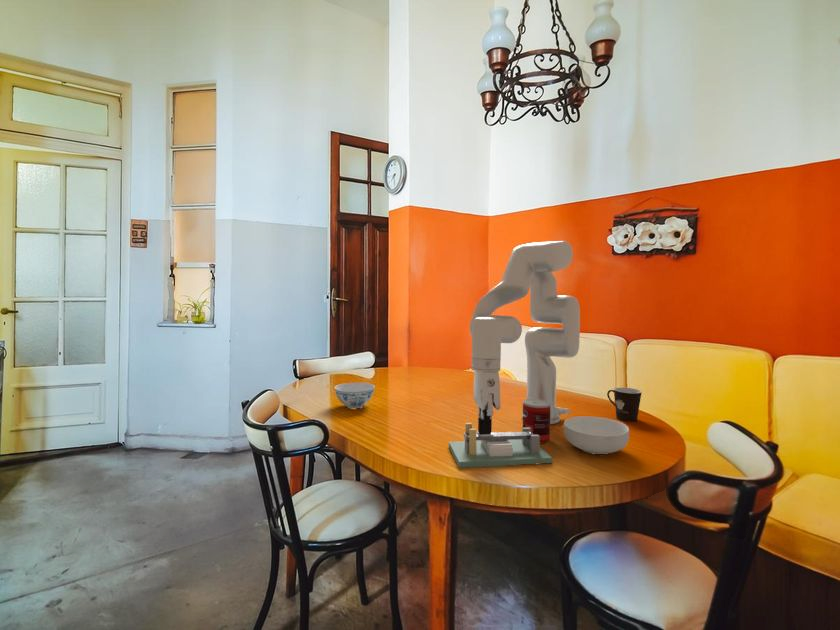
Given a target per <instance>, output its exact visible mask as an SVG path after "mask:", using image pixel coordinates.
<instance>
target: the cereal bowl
mask: <svg viewBox="0 0 840 630" xmlns="http://www.w3.org/2000/svg"><path fill="white" fill-rule="evenodd" d="M563 431H564V436H565V437H566V439H567V441H568V442H569V443H570V444H571V445H573V446H574V447H576V448H578V449H579V450H581V449H582V450H581V451H583V450H584V451H586V452H585V453H587V452H589V453H588V454H590V453H594V454H593V455H595V454H607V455H609V454H608V453H610V454H612V453H615V452H618V451H621V450H623V448H625V447H626V446H627V445H628V443H629V438H630V428H629V426H628V425H627V424H625V423H623V422H621V421H618V420H615V419H612V418H607V417H600V416H599V417H598V416H589V415H588V416H586V415H585V416H584V415H583V416H579V415H578V416H573V417H569V418H567V419H565V420H564V422H563ZM584 451H583V452H584Z"/></svg>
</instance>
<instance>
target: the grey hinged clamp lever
mask: <svg viewBox="0 0 840 630" xmlns="http://www.w3.org/2000/svg"><path fill="white" fill-rule="evenodd" d="M530 435H534V434H533V433H532V432H531V431H530V430H526V432H522V431H505V432H504V431H502V432H501V431H500V432H499V431H498V432H497V431H496V432H494V431H493V432H492V431H491V434H480V433H479V432H478V431H476V441H481V440H518V439H530ZM463 438H464V441H465V440H466V441H469V433H465V432H464V433H463Z"/></svg>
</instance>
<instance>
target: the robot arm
mask: <svg viewBox="0 0 840 630" xmlns="http://www.w3.org/2000/svg"><path fill="white" fill-rule="evenodd" d="M573 253H574V251H573V247H572V246H571V244H570V242H568V241H565V240H556V241H541V242H538V241H537V242H531V243H526V244H521V245H518V246H516V247H514V248H513V250H512V251H511V253H510V256H509V257H508V258H509V259H508V260H507V261H508V262H507V263H506V267H505V269H504V272H503V275H502V277H501V280H500V282H499V283H498V284H497V285H496V286H494V287H492V288H491V289H490V290H489V291H488V292H487V293H485V295H483V296H482V297H481V298H480V299H479V301H478V302H477V304H476V306H475V308H474V311H473V314H472V316H471V319H470V323H469V334H470V336H471V368H470V369H471V370H472V371H474V374H473V375H474V377H473V400H474V403H475V404H476V405H477V408H478V409H477V413H478V421H477V425H478V426H477V432H479V433H480V434H491V432H492V431H493V430H492V429H493V428H492V424H493V423H492V422H493V421H492V420H493V416H494V409H495V410H496V411H499V410H500V409H501V383H500V382H501V381H500V373H499V372H500V371H501V360H502V359H501V357H502V356H501V355H502V353H501V351H502V346H501V345H502V344H514V343H515V342H517V341H518V340H519V339H520V338H521V335H522V332H523V328H522V324H521V323H522V322H521V321H520V320H519V319H518V318H516V317H515V316H511V315H500V314H499V315H493V313H494V312H496V311H497V310H498V309H500V308H501V307H503V306H506V305H509V304H512V303H514V302H516V301H519V300H521V299H523V298H525V297H526V296H527V295H528V293H529V292H530V293H529V294H530V295H529V315H530V319H531V320H532V321H533V322H534V323H539V324H548V325H549V324H551V325H552V324H553V325H554V324H555V325H561V326H562V327H560V328H558V327H545V326H537V327H532V328H529V329H528V330H527V331H526V332H525V335H524V346H525V353H526V362H527V366H526V368H527V369H526V371H527V372H526V373H527V374H526V400H527V399H540V400H545V401H548V402H549V403H550V425H554V424H558V423H560V421H561V417H560V416H561V415H569V414H570V409H569V408H568V407H567V408H563V407H559V406H556V401H557V400H556V399H557V397H556V396H557V369H556V365H555V363H554V361H553V360H552V358H551V357H556V358H574V357H576V356H577V355H578V353H579V349H580V333H581V332H580V330H581V328H580V327H581V317H580V316H581V308H580V304H579V300H578V299H577V297H575V296H573V295H566V294H565V295H563V294H561V295H560V294H557V293H558V292H557V282H558V281H557V278H556V277H555V275H554V273H553V272H557V271H561V270H564V269H566V268H568V267H569V266H570V264H571V263H572V261H573V256H574V254H573ZM529 290H530V291H529ZM521 419H522V420H523V412H522V414H521Z"/></svg>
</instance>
